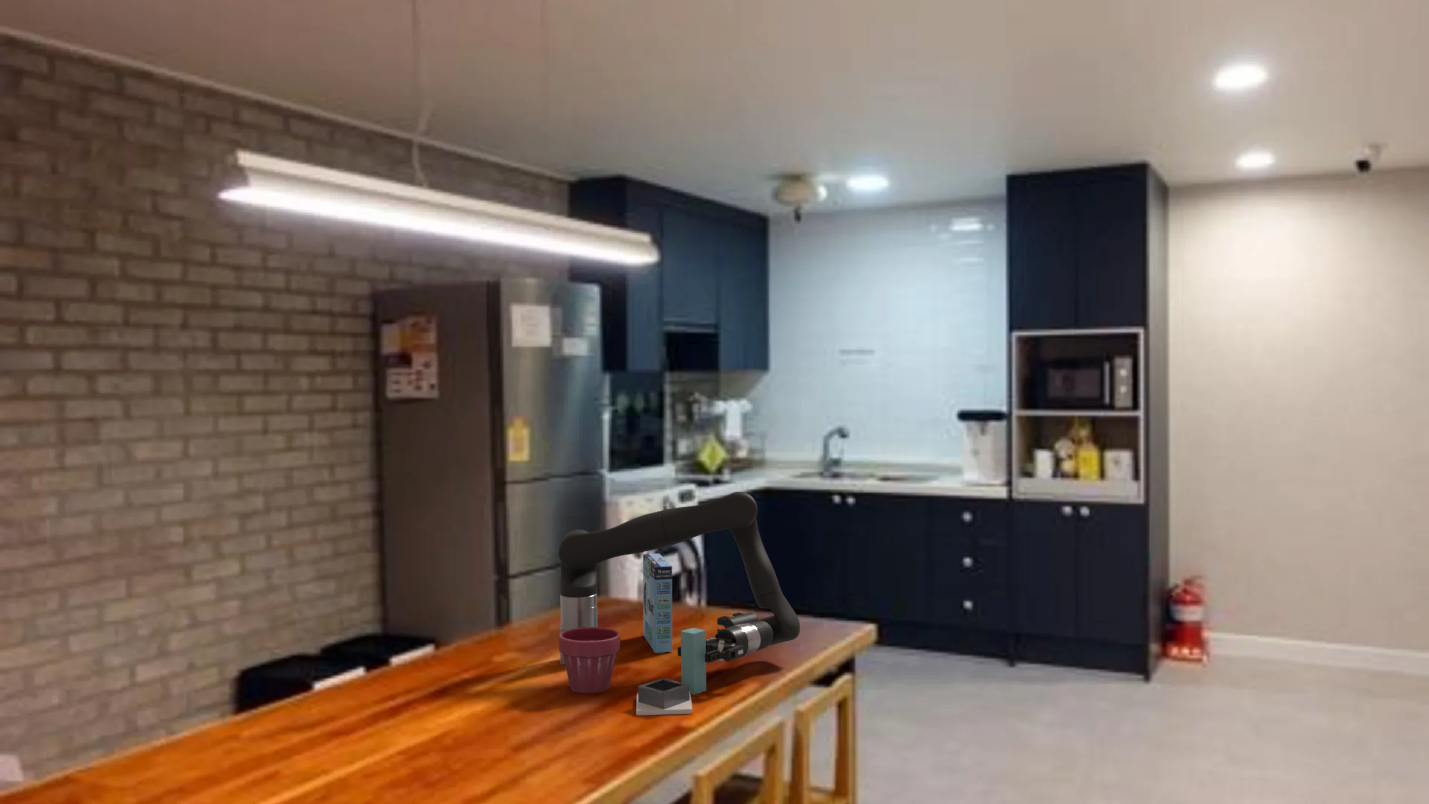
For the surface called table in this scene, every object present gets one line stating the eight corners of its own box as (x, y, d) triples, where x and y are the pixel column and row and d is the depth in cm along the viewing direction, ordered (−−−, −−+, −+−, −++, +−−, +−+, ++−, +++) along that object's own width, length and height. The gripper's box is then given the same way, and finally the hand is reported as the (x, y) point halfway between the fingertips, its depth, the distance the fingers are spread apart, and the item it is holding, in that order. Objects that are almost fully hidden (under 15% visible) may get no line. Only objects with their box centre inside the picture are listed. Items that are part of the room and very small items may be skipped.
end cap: (735, 645, 286) (734, 620, 286) (716, 640, 292) (715, 616, 291) (760, 638, 294) (759, 613, 293) (741, 633, 299) (741, 609, 298)
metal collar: (664, 709, 230) (664, 693, 230) (638, 702, 235) (638, 686, 235) (689, 700, 236) (689, 684, 236) (663, 693, 241) (663, 678, 241)
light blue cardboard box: (643, 635, 297) (642, 554, 296) (661, 634, 298) (660, 553, 298) (654, 654, 278) (653, 566, 278) (673, 652, 279) (672, 565, 279)
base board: (636, 715, 229) (636, 710, 229) (637, 698, 241) (637, 693, 241) (692, 713, 230) (692, 709, 230) (690, 696, 242) (690, 692, 242)
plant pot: (631, 683, 253) (631, 629, 252) (601, 700, 240) (600, 643, 240) (580, 676, 259) (579, 623, 258) (547, 692, 246) (546, 637, 246)
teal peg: (694, 694, 243) (693, 633, 243) (681, 691, 246) (680, 631, 245) (706, 690, 246) (705, 630, 246) (693, 687, 249) (692, 627, 248)
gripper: (715, 621, 262) (669, 634, 250) (760, 630, 253) (715, 644, 240) (715, 651, 262) (669, 666, 250) (760, 661, 253) (715, 677, 241)
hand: (692, 655), depth 245 cm, fingers open, 8 cm apart
